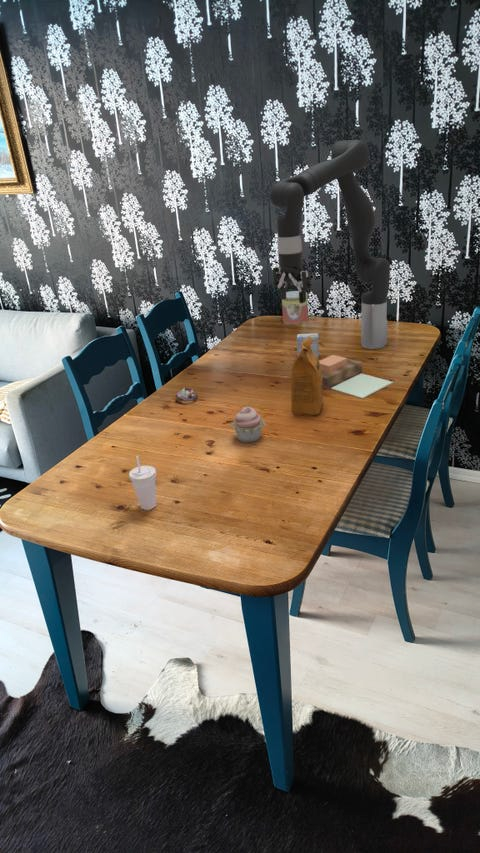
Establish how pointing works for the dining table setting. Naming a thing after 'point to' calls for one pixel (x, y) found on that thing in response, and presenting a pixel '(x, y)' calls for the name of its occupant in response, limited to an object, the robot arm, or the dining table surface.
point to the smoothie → (144, 485)
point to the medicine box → (314, 345)
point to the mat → (361, 385)
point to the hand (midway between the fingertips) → (292, 300)
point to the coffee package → (306, 382)
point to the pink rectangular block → (332, 363)
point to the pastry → (186, 396)
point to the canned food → (294, 309)
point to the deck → (341, 374)
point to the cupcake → (248, 425)
